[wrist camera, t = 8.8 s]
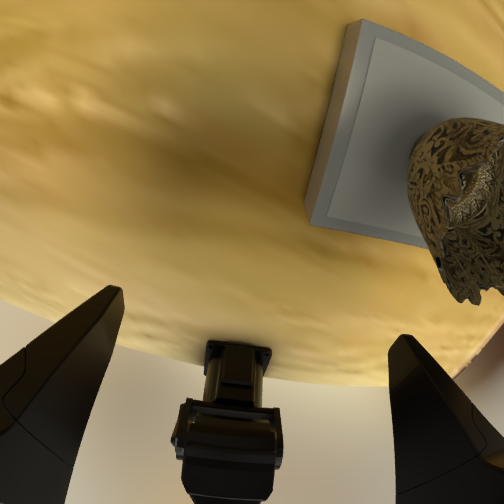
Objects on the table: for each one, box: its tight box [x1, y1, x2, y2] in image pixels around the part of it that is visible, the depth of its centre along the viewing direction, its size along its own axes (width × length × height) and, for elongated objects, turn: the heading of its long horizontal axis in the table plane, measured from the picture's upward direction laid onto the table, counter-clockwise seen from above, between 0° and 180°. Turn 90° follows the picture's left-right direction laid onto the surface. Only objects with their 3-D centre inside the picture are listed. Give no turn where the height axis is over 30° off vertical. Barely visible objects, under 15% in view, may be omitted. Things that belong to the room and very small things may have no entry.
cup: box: [407, 117, 504, 306], centre depth 11 cm, size 8×7×8 cm
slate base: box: [304, 19, 504, 249], centre depth 15 cm, size 12×12×3 cm
